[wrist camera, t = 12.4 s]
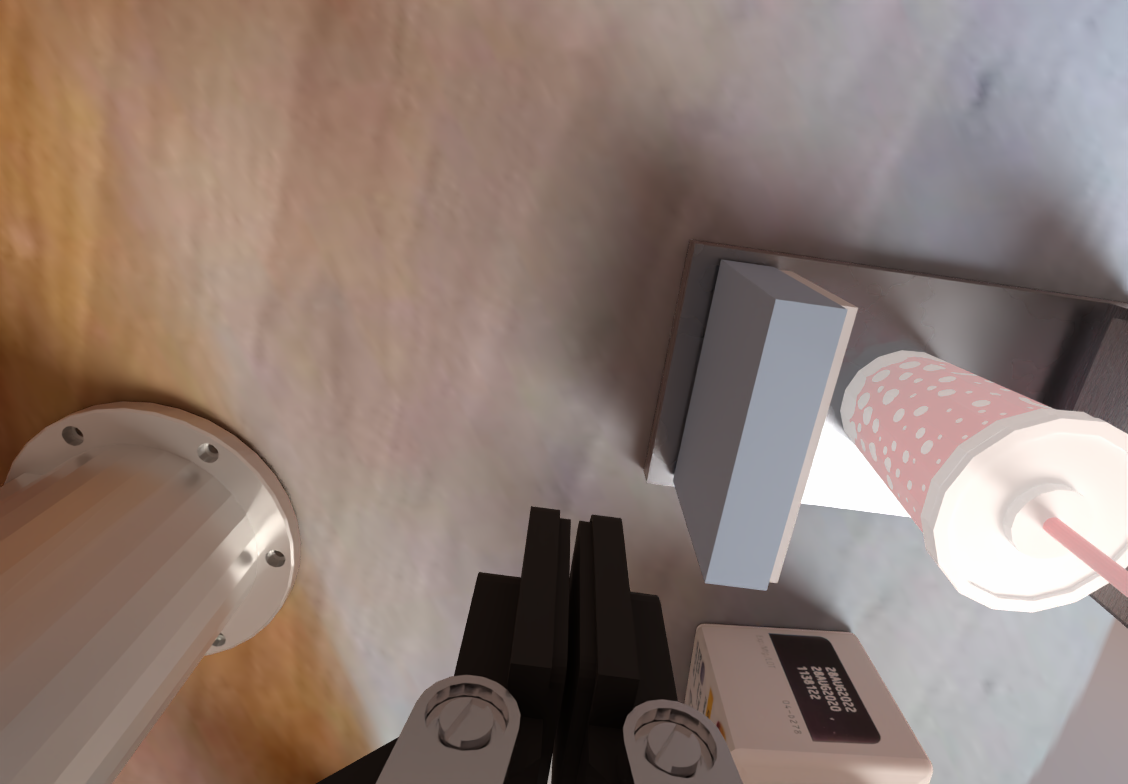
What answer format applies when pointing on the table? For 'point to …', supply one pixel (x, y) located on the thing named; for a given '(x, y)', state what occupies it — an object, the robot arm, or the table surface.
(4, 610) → the robot arm
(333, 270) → the table surface
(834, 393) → the vise base
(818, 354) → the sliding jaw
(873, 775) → the container
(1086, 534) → the beverage cup
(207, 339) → the table surface
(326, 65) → the table surface
